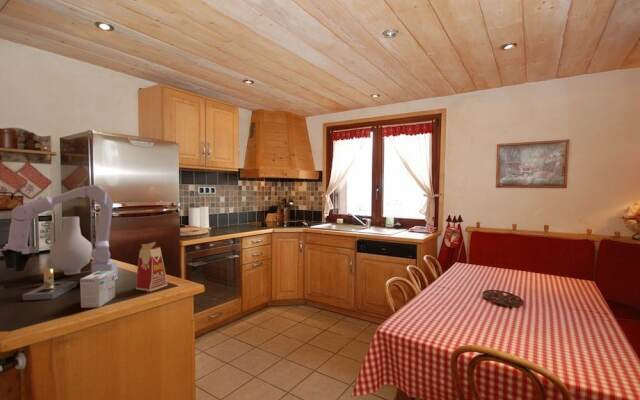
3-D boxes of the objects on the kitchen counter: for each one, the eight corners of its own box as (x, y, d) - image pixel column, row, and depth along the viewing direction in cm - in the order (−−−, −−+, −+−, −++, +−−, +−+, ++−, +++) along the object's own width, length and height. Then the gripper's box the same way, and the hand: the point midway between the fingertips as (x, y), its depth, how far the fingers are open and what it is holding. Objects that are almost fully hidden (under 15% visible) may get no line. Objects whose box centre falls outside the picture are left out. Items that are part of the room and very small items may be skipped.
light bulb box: (98, 297, 125) (97, 270, 124) (116, 297, 125) (115, 270, 125) (79, 308, 114) (79, 278, 114) (99, 307, 115) (99, 278, 114)
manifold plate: (76, 286, 138) (76, 281, 138) (52, 299, 122) (52, 293, 122) (50, 287, 137) (50, 282, 136) (22, 300, 121) (22, 294, 121)
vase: (42, 275, 154) (41, 217, 153) (79, 267, 169) (78, 215, 168) (64, 279, 148) (62, 219, 147) (100, 270, 163) (99, 216, 162)
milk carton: (167, 285, 141) (167, 240, 140) (150, 291, 132) (149, 244, 131) (151, 283, 144) (151, 239, 143) (133, 289, 135) (132, 242, 134)
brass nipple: (55, 283, 142) (55, 267, 141) (50, 285, 139) (50, 269, 138) (47, 283, 141) (46, 268, 141) (42, 286, 138) (42, 270, 138)
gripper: (-3, 233, 126) (-8, 267, 126) (14, 238, 120) (10, 274, 120) (19, 233, 133) (15, 265, 132) (37, 237, 126) (33, 271, 126)
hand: (14, 269), depth 126 cm, fingers open, 7 cm apart
